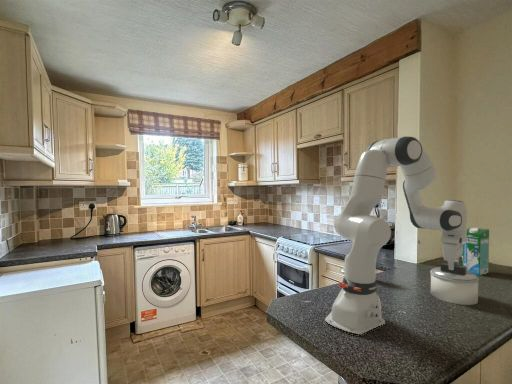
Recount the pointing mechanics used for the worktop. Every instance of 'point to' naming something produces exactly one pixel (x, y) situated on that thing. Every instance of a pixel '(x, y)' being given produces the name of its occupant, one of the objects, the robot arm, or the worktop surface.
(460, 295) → the cooker pot
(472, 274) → the lid
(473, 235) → the milk carton
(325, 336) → the worktop surface
